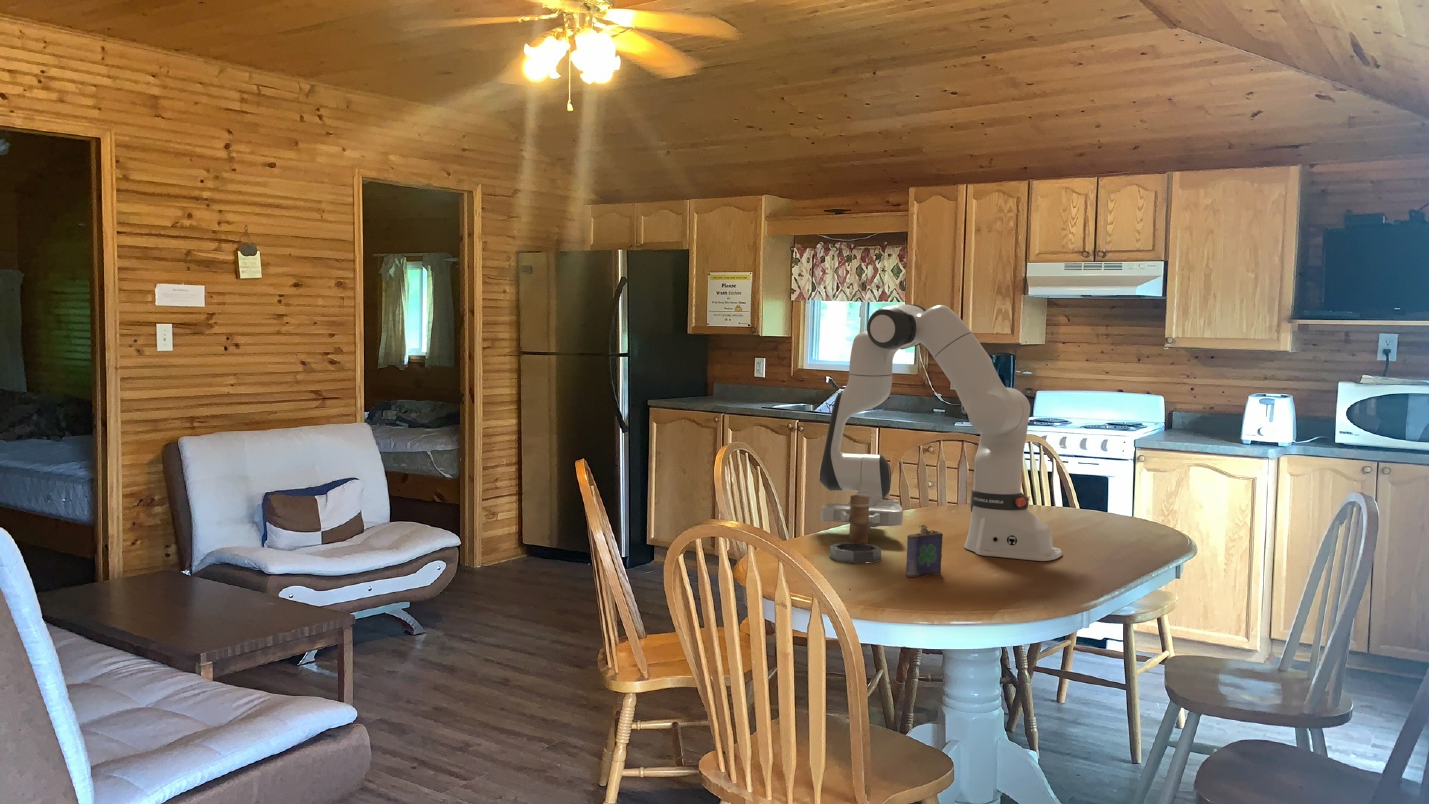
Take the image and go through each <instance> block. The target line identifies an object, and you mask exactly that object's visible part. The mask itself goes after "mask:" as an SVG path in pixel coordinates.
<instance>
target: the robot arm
mask: <svg viewBox="0 0 1429 804" xmlns="http://www.w3.org/2000/svg"><path fill="white" fill-rule="evenodd" d="M920 345H922V346H924V347H925V348H926V349H927V351H928V352H929V354H931V356H932V357H933V359H934V360H935V362H936V363H937V366H939V367H940V369H941V370H942V372H943V373H944V375H945V376H946V378H947V379H948V381H949V383H950V384H951V385H952V387H953V388H954V390H955V392H956V394H957V396H958V399H959V401H960V402H961V405H962V407H963V408H964V411H965V412H966V414H967V418H968V421H969V423H970V425H971V426H972V428H973V429H975V431H978V432H979V433H980V437H979V442H978V446H977V451H976V453H975V455H974V465H973V466H974V467H973V489H971V494H970V512H971V516H970V523H969V527H968V528H969V529H968V532H967V537H966V540H965V542H964V548H965V549H967V550H969V551H971V552H973V553H975V554H977V555H979V556H985V557H996V558H997V557H998V558H1006V559H1007V558H1008V559H1018V560H1027V561H1037V562H1046V561H1047V562H1049V561H1053V560H1056V559H1059V558H1060V557H1062V555H1063V554H1062V553H1063V552H1062V550H1061V548H1059V547H1054V546H1053V537H1052V532H1051V529H1050V527H1049V526H1048V525H1047V524H1046V523H1044V522H1043V521H1042V519H1040V518H1039V517H1038V516H1036V514H1034V513H1033V512H1032V511H1030V509H1029V502H1030V501H1031V499H1030V498H1031V496H1030V495H1029V496H1027V495H1025V494H1024V493H1022V490H1021V488H1022V469H1023V467H1022V466H1023V456H1024V450H1025V445H1026V440H1027V434H1028V427H1029V418H1030V415H1031V404H1030V402H1029V399H1028V397H1027V396H1025V394H1024V393H1022V391H1020V390H1018V389H1016V388H1013V387H1006V386H1005V385H1004V383H1003V382H1002V380H1001V378H1000V376H999V374H998V372H997V369H996V367H995V366H994V363H993V360H992V358H991V357H990V355H989V354H988V352H987V351H986V350H985V348H984V347H983V345H982V344H981V342H980V341H979V340H978V339H977V338H976V336H975V335H974V333H973V332H972V330H971V329H970V328H969V326H968V325H967V324H966V323H965V322H964V321H963V320H962V318H961V317H960V316H959V315H957V313H956V312H955V311H953V310H952V309H951V308H950V307H949V306H947V305H943V304H938V305H935V306H932V307H930V308H927V309H926V308H925V307H923V306H921V305H918V304H904V303H903V304H902V303H898V304H892V305H888V306H886V305H885V306H883V307H881V308H878V309H877V310H876V311H874V312H873V313H872V314H871V316H869V319H868V321H867V324H866V330H863V331H862V332H860V333H859V332H858V334H857V335H855V337H854V339H853V342H852V347H851V351H850V357H849V365H848V366H849V370H848V371H849V372H848V380H847V383H846V386H845V388H844V389H843V391H840V392H838V393H837V395H836V397H835V399H834V403H833V406H832V410H831V415H830V420H829V424H828V430H827V435H826V441H825V445H824V450H823V455H822V458H821V460H820V463H819V467H818V478H819V482H820V483H821V484H822V485H823V487H824V488H826V489H827V490H828V491H830V492H831V491H833V492H834V491H835V492H836V491H844V490H845V491H856V493H855V494H854V495H865V496H869V516H868V529H871V528H877V527H878V528H879V527H894V526H895V527H899V526H902V525H903V518H904V515H903V514H904V513H903V512H904V509H903V506H902V505H901V504H900V502H899V501H900V500H898V499H894V498H886V497H887V496H888V494H889V493H890V491H891V485H892V484H891V483H892V471H891V466H890V463H889V462H888V459H886V457H884V456H883V455H882V454H876V453H875V454H874V453H847V452H843V451H841V448H842V447H841V445H842V441H843V438H844V437H843V436H844V431H845V427H846V423H847V421H848V420H849V418H851V417H852V416H854V415H857V414H860V413H862V412H865V411H867V410H871V409H874V408H876V407H877V406H880V405H881V404H882V403H884V402H886V400H887V399H888V398H889V396H890V394H891V391H892V384H893V360H894V356H895V354H896V353H897V352H898V351H899V350H906V349H910V348H912V347H916V346H920ZM820 520H821V521H823V522H837V523H850V500H849V502H847V503H837V502H835V503H834V502H833V503H832V502H831V503H826V504H823V505H822V506H821V507H820Z"/></svg>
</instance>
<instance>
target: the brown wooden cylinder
mask: <svg viewBox="0 0 1429 804" xmlns="http://www.w3.org/2000/svg"><path fill="white" fill-rule="evenodd" d="M849 501H850V522H849V533H848V534H849V535H848V536H849V539H848V540H849V541H848V543H864V544H869V528H868V516H869V496H865V495H855V494H854V495H850V500H849Z"/></svg>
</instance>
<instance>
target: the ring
mask: <svg viewBox="0 0 1429 804" xmlns="http://www.w3.org/2000/svg"><path fill="white" fill-rule="evenodd" d="M829 557H830V559H833V560H834V561H836V562H841V563H847V562H849V564H867V563H866V562H874V563H877V562H879V561H881V560H882V548H881V547H879V546H877V545H875V544H870V543H868V544H864V543H849V542H837V543H834V544H831V545H830V546H829ZM880 559H881V560H880ZM878 560H879V561H878ZM876 561H877V562H876Z"/></svg>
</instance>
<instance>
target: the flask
mask: <svg viewBox="0 0 1429 804" xmlns="http://www.w3.org/2000/svg"><path fill="white" fill-rule="evenodd" d="M919 528H921V529H920V531H919V532H920V533H913V534H908V535H907V540H906V541H907V544H906V547H907V548H906V567H905V569H906V570H905V575H906V578H910V577H911V578H915V577H916V578H921V577H924V578H925V577H928V576H936V575H939V576H940V575H941V573H942V572H941V571H942V570H941V569H942V554H943V553H942V552H943V551H942V548H943V536H944V535H943V533H942V532H940V531H937V530H933V529H932V530H928V529H927V528H928V526H927V525H925V524H921V525H919Z"/></svg>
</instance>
